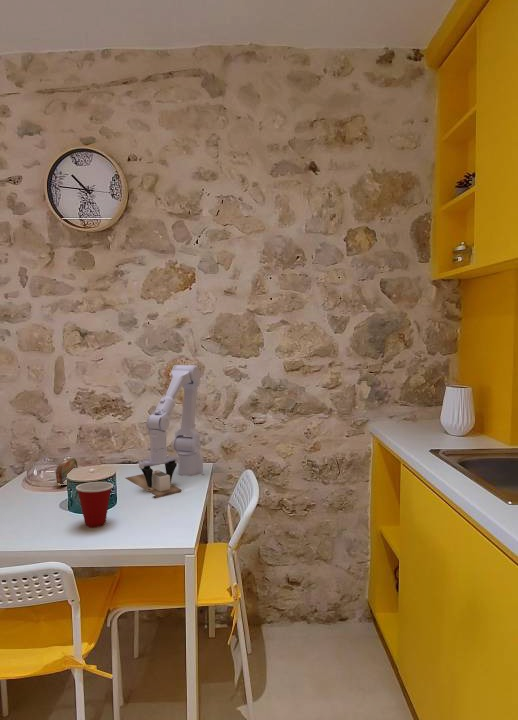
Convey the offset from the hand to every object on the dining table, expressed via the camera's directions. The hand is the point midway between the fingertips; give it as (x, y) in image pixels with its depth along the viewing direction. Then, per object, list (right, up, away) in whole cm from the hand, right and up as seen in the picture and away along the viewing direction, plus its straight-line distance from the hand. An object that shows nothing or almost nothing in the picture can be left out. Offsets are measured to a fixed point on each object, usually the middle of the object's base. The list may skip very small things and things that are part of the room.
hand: (159, 484), depth 181 cm
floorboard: (-4, -2, +5) cm, 6 cm away
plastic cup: (-13, -5, -30) cm, 33 cm away
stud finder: (0, -1, 0) cm, 1 cm away
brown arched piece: (-37, -2, +10) cm, 39 cm away
